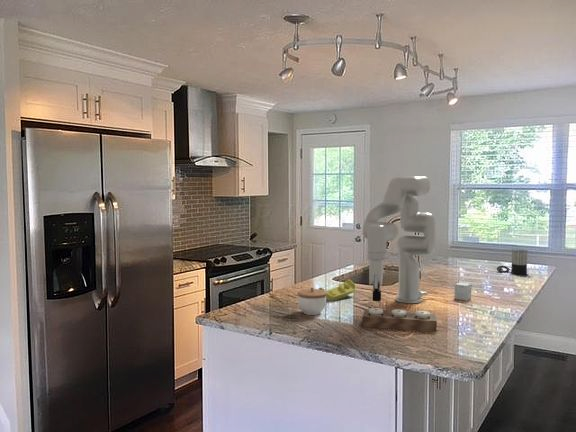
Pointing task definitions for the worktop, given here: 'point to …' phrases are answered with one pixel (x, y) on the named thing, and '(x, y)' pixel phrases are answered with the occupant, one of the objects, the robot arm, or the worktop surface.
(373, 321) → the mount
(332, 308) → the worktop surface
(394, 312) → the knob
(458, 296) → the product box
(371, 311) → the knob
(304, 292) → the lidded bowl
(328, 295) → the plastic component
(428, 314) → the knob
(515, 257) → the milk frother
